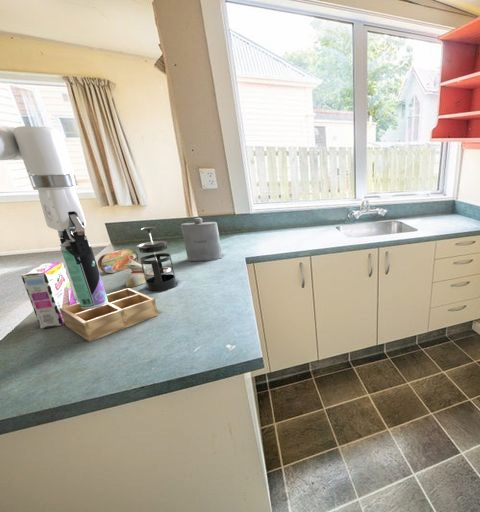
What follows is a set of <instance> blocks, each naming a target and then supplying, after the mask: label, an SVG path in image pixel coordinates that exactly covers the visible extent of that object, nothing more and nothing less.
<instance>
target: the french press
mask: <svg viewBox="0 0 480 512" xmlns="http://www.w3.org/2000/svg"><path fill="white" fill-rule="evenodd" d="M156 228H157V227H156V226H146V227H143V228H141V229H140V230H141V231H147V233H148V235H149V239H150V241H146V242H142V243H138V244H137V245H136V248H138V250H139V253H141V254H148V255H144V256H141V257H140V258H139V260H140V264H141V265H142V269H143V273H144V276H145V280H146V282H145V284H146V290H147V291H148V292H151V293H156V292H157V293H158V292H163V291H167V290H171V289H173V288H175V287H177V286H178V281H177V279H176V274H175V269H174V266H173V261H172V257H171V253H167V252H163V251H166V250H167V249H168V246H167V245H168V241H165V240H154V241H153V237H152V230H155V229H156ZM158 252H159V253H158ZM160 252H161V253H160ZM161 257H162V258H161ZM149 259H150V260H149ZM151 259H152V260H151ZM168 261H170V265H171V267H170V266H163V263H164V262H168ZM143 265H151V269H148V270H146V271H145V270H144V267H143ZM147 277H148V278H147Z"/></svg>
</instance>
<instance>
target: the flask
mask: <svg viewBox="0 0 480 512" xmlns="http://www.w3.org/2000/svg"><path fill="white" fill-rule="evenodd" d="M192 219H193V222H186V223H181V224H180V229H181V234H182V238H183V243H184V247H185V253H186V257H187V260H188V261H189V262H202V261H214V260H219V259H222V258H223V252H222V246H221V239H220V233H219V228H218V227H219V226H218V223H217V222H216V221H205V222H203V221H204V220H203V218H201V217H194V218H192Z"/></svg>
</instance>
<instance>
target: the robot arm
mask: <svg viewBox="0 0 480 512" xmlns="http://www.w3.org/2000/svg"><path fill="white" fill-rule="evenodd" d="M21 160H22V161H23V164H24V167H25V169H26V173H27V175H28V178H29V181H30V184H31V187H32V189H33V190H34V191H37V193H38V198H39V202H40V206H41V209H42V213H43V215H44V219H45V223H46V226H47V227H48V228H49V229H51V230H55V231H57V234H58V238H59V241H60V245H61V244H63V243H64V242H66V239H67V238H68V236H69V238H70V240H71V242H69V243H70V246H71V249H72V252H73V255H74V257H81V256H86V255H91V250H90V247H89V244H88V241H89V240H88V237H87V234H86V233H85V228H86V227H87V221H86V218H85V214H84V210H83V208H82V205H81V203H80V199H79V197H78V195H77V192H76V190H75V189H78V188H79V184H78V181H77V178H76V175H75V172H74V168H73V165H72V162H71V159H70V155H69V151H68V149H67V146H66V142H65V139H64V136H63V134H62V133H61V131H60V130H58V129H56V128H53V127H47V126H34V125H33V126H29V125H28V126H27V125H25V126H24V125H21V126H16V127H14V126H13V127H12V126H7V125H0V161H21ZM67 235H68V236H67Z"/></svg>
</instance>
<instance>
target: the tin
mask: <svg viewBox="0 0 480 512" xmlns="http://www.w3.org/2000/svg"><path fill="white" fill-rule="evenodd" d="M129 260H133V261H135V262H137V263H139V255H138V253H137V251H136V250H134V249H132V248H122V249H119V250H114V251H112V252H108V253H105V254H102V255H101V256H100V257H99V258H98V259H97V267H98V269H99V271H101V272H103V273H106V274H107V273H108V274H115V273H119V272H121V271H125V270H127V269H129V268H128V267H127V264H128V263H129Z"/></svg>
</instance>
